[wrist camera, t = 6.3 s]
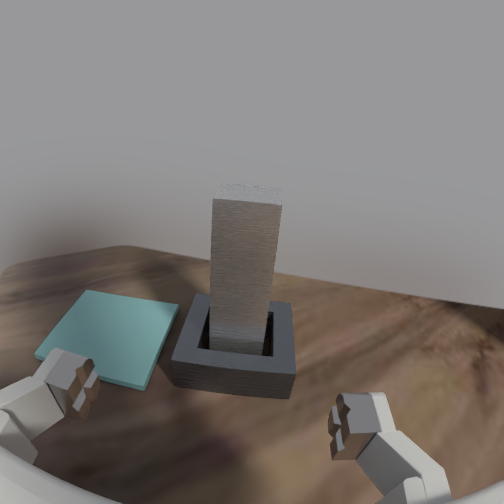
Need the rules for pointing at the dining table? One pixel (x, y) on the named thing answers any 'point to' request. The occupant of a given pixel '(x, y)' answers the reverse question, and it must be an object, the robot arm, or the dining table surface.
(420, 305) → the dining table surface
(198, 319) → the socket block
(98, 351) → the teal pad
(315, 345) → the dining table surface
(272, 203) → the steel peg
